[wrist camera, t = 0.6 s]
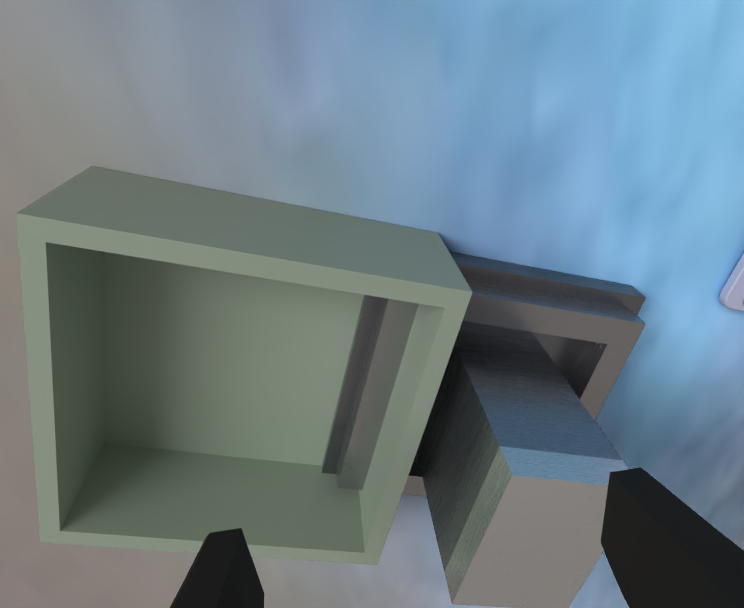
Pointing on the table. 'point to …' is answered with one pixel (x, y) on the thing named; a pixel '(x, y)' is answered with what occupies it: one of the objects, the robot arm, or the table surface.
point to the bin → (217, 365)
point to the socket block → (492, 317)
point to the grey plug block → (513, 476)
